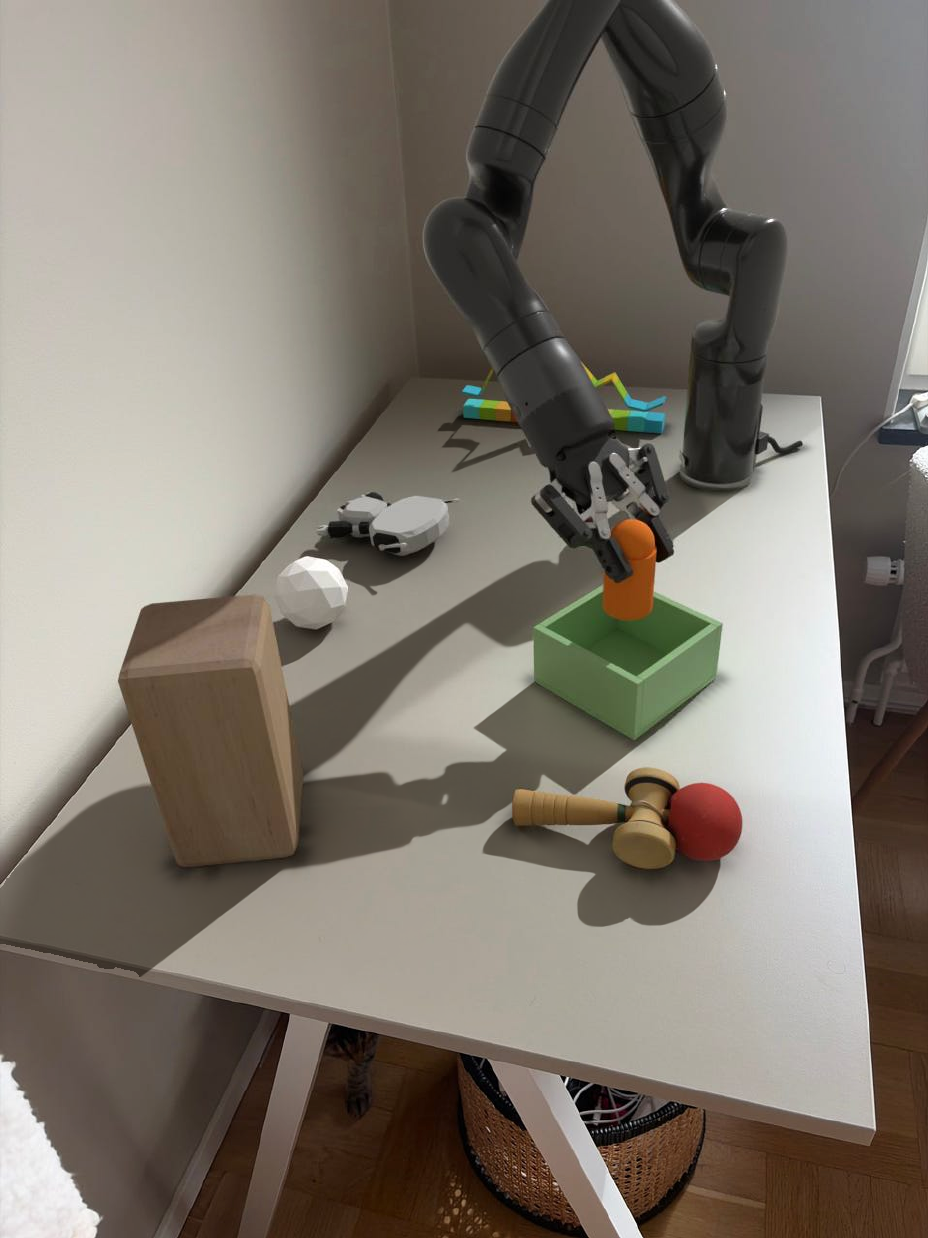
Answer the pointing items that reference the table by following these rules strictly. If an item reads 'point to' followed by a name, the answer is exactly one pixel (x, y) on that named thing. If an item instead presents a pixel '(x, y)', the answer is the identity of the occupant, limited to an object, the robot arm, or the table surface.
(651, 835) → the kendama
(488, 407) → the chart
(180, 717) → the block
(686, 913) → the table surface
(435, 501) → the robot toy
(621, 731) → the bin
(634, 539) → the orange peg figure
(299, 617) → the geometric ball
